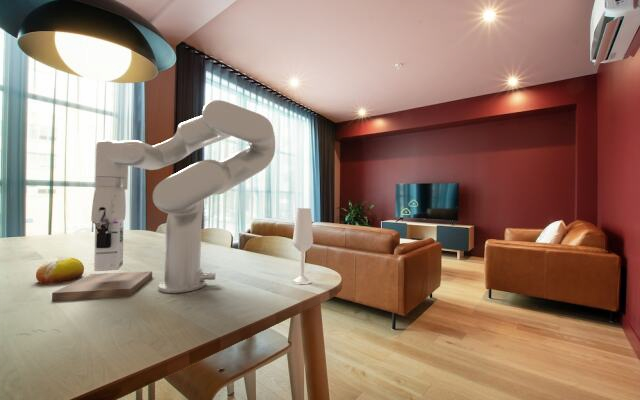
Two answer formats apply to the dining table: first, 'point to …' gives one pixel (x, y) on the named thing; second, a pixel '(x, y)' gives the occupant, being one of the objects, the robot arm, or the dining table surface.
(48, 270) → the fruit
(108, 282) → the walnut board
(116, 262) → the syrup box
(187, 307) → the dining table surface
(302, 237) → the champagne flute
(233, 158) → the robot arm
